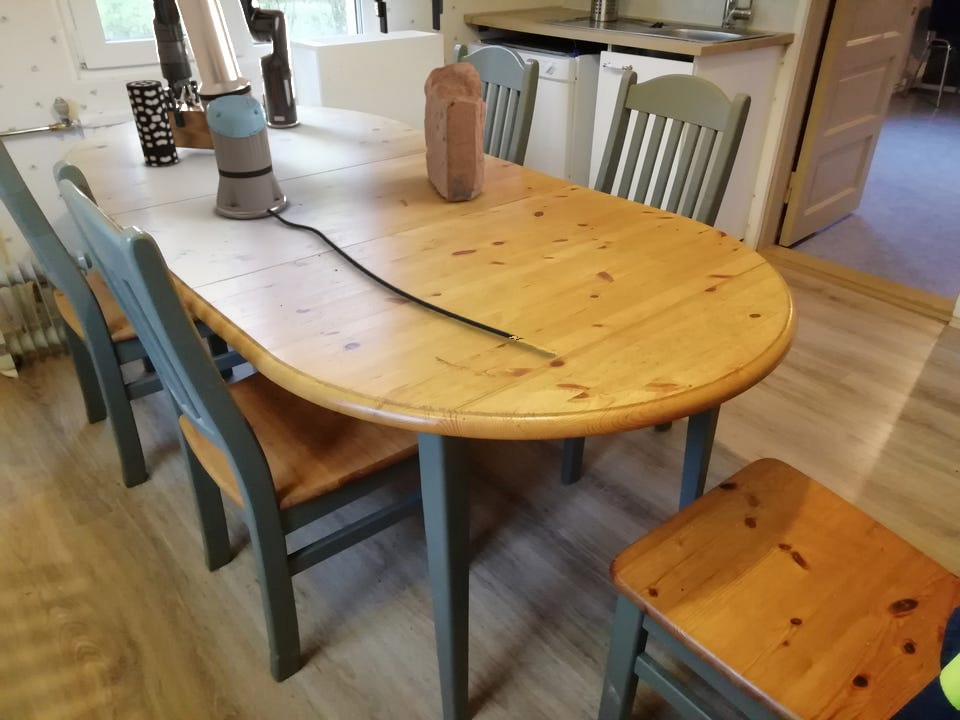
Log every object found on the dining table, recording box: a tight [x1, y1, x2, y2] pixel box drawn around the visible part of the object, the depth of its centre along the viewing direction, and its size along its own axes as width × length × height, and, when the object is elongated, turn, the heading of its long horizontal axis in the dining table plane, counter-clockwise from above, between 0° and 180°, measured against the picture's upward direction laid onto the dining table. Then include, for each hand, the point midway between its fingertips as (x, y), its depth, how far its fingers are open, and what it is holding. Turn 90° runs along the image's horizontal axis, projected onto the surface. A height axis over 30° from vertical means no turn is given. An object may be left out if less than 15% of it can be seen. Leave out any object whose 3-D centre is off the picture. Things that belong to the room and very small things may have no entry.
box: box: [168, 104, 214, 151], centre depth 191 cm, size 23×6×10 cm, turn 79°
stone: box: [423, 61, 487, 202], centre depth 163 cm, size 22×11×28 cm, turn 18°
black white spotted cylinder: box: [125, 79, 179, 167], centre depth 181 cm, size 8×8×20 cm
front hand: (410, 31), depth 164 cm, fingers open, 13 cm apart
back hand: (187, 123), depth 191 cm, fingers closed on box, 6 cm apart
